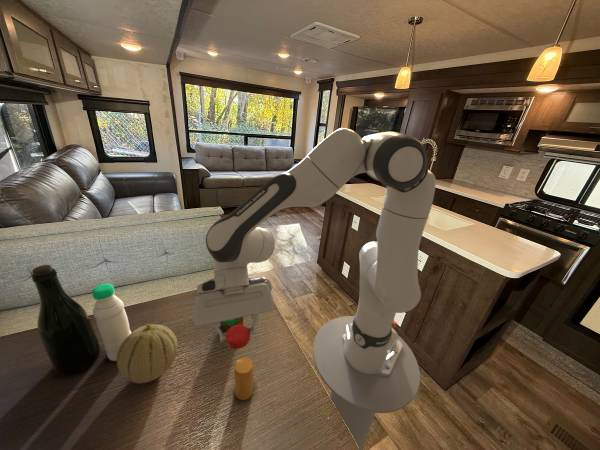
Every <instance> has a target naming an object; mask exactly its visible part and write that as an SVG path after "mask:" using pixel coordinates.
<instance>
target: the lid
mask: <svg viewBox="0 0 600 450" xmlns="http://www.w3.org/2000/svg"><path fill="white" fill-rule="evenodd" d="M225 333H226V339H227V340H226V341H225V343H226V345H227V346H228V347H229V348H230V349H233V350H238V349H239V350H240V349H242V348H244V347H246V346H247V345H248V344H249V343H250V340H251V335H250V331H249V327H248V326H247V325H244V324H243V325H235V326H232V327H231V328H229V329H228V331H226V332H225Z"/></svg>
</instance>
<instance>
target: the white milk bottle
mask: <svg viewBox="0 0 600 450" xmlns="http://www.w3.org/2000/svg"><path fill="white" fill-rule="evenodd" d="M115 293H116V292H115V287H114V285H113V284H111V283H102V284H99V285H97V286H95V287H94V288H93V289H92V291H91V295H92V297H93V299H94V300H95V303H94V306H93V309H92V315H93V317H94V319H95V323H96V326H97V330H98V333H99V335H100V338H101V340H102V344H103V347H104V349H105V353H106V356H107V359H108V360H110V361H112V362H117V359H116V358H117V353H118V350H119V347H120V346H121V344H122V342H123V341H124V340H125V339H126V337H128V336H129V335H130V334H131V333H132V331H131V329H130V322H129V318H128V315H127V312H126V310H125V304H124V301H123V300H122V299H121V298H119V297H118V296H117V295H116V294H115Z"/></svg>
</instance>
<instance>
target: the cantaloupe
mask: <svg viewBox="0 0 600 450" xmlns="http://www.w3.org/2000/svg"><path fill="white" fill-rule="evenodd" d="M178 349H179V343H178V339H177V336H176V334H175V333H174V332H173V331H172V329H170V327H168V326H166V325H162V324H155V323H153V324H149V323H146V324H145V325H143V326H139V327H138V328H136V329H134V330H133V331H131V334H130V335H129V336H128V337H126V339H125V340H124V341H123V342H122V344H121V346H120V347H119V350H118V353H117V358H116V359H117V361H116V366H117V369H118V372H119V374H120V375H121V377H122V378H123V379H124V380H127V381H130V382H132V383H135V384H145V383H146V384H147V383H149V382H152V381H154V380H157V379H158V378H160V377H161V376H163V374H165V373H166V372H167V371H168V370H169V369H170V368H171V366H172V365H173V363H174V361H175V359H176V356H177V353H178Z"/></svg>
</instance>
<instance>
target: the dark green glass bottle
mask: <svg viewBox="0 0 600 450" xmlns="http://www.w3.org/2000/svg"><path fill="white" fill-rule="evenodd" d="M31 272H32V274H31V281H32V282H33V284H34V285H35V288H36V291H37V293H38V297H39V312H38V317H37V322H36V323H37V324H36V325H37V331H38V334H39V337H40V340H41V343H42V345H43V347H44V350H45V352H46V355H47V357H48V360H49V362H50V363H51V365H52V367H53V370H54V371H55V372H56V374H57V375H59V376H67V377H68V376H73V375H77V374H79V373H81V372H83V371H85V370H87V369H88V368H90V367H91V366H92V365H94V364H95V363H96V361H97V360H98V359H99V357H100V355H101V352H102V348H101V346H100V343H99V339H98V337H97V334H96V332H95V329H94V327H93V325H92V324H93V323H92V322H91V319H90V317H89V315H88V313H87V311H86V309H85V308H84V307H83V305H81V304H80V303H79V302H77V301H76V300H75V299H74V298H72V297H71V296H70V295H69V294H68V293H67V291H66V290H65V289H64V287H63V285H62V283H61V281H60V279H59V276H58V272H57V270H56V269H55V268H53V267H52V266H51V264H43V265H38V266H36V267H34V268H33V269H32V270H31Z"/></svg>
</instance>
